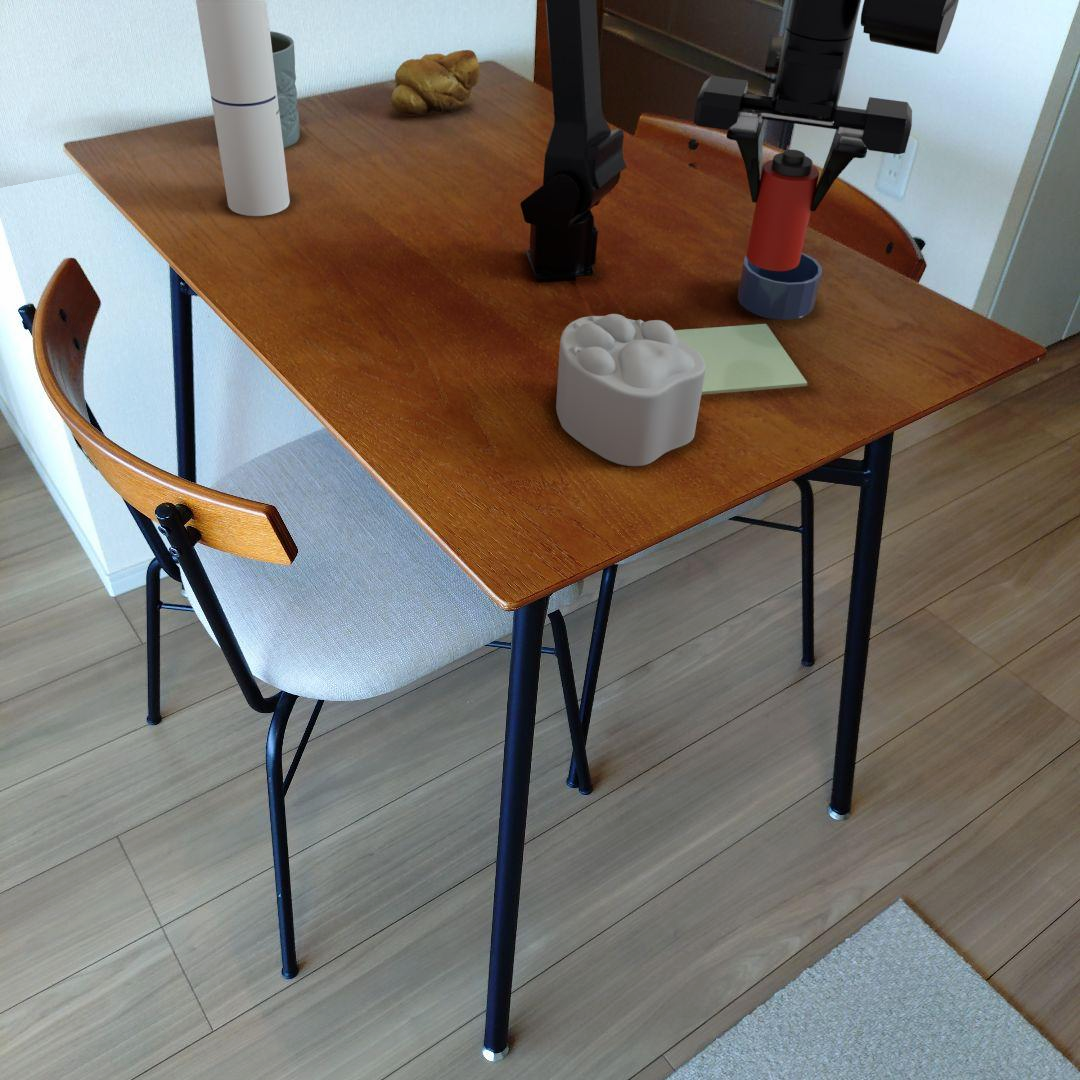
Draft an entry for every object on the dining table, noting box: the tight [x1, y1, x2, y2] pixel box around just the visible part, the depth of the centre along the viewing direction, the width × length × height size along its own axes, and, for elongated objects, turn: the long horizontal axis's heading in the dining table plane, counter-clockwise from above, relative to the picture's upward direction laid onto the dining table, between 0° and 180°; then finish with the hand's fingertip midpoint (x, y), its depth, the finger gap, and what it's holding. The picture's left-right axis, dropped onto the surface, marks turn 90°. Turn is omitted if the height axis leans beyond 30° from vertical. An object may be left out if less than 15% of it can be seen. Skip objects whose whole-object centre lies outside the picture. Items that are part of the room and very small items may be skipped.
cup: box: [736, 252, 823, 321], centre depth 112 cm, size 8×8×4 cm
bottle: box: [745, 149, 820, 271], centre depth 102 cm, size 5×5×10 cm
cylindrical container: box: [195, 0, 291, 217], centre depth 119 cm, size 7×7×25 cm
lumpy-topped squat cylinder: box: [555, 313, 706, 467], centre depth 94 cm, size 10×13×9 cm
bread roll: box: [390, 49, 481, 117], centre depth 150 cm, size 13×10×8 cm
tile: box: [673, 323, 808, 396], centre depth 104 cm, size 11×11×1 cm
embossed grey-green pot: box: [270, 30, 301, 149], centre depth 138 cm, size 10×10×12 cm
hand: (784, 205), depth 102 cm, fingers closed on bottle, 5 cm apart
